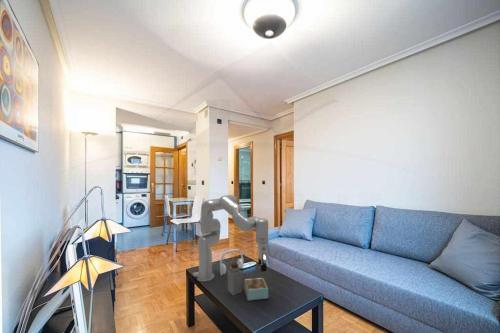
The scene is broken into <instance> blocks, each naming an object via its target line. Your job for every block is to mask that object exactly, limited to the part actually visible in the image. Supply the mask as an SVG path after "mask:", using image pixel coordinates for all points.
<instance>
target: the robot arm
mask: <svg viewBox="0 0 500 333" xmlns="http://www.w3.org/2000/svg"><path fill="white" fill-rule="evenodd" d="M200 210H201V220H200V231H201V233H202V235H201V236H199V237H198V239H197V247H198V248H197V249H198V271H197V272H192V276H193V277H196V280H197V281H199V282H202V283H206V282H210V281H212V280H213V279H214V278H215V274H214V273H213V254H212V253H213V252H212V250H211V247H213V246H215V245H217V244H218V243H219V242H220V238H221V237H220V236H221V227H222V226H221V222H220V220H219V219H217V218H214V213H213V212H217V211H222V210H224V211H226V212H227V213H228V214H229V215H230V216H231V217H232V218H231V219H232V221H233V223H234V225H235V226H237V228H239V229H240V230H242V231H244V232H250V231H252V230H255V243H257V256H258V262H257V264H258V265H260V271H261V272H267V271H268V270H267V268H268V267H267V261H268V260H269V250H268V247H269V246H268V243H269V220H268V218H265V217H259V216H250V217H246V218H245V217H243V215H242V214H240V213H241V210H242V206H241V205H240V204H238V198H237V196H235V194H227V195H223V196H221V197H219V198H213V199H208V200H205V201H204V202H202V204H201V209H200Z"/></svg>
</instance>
